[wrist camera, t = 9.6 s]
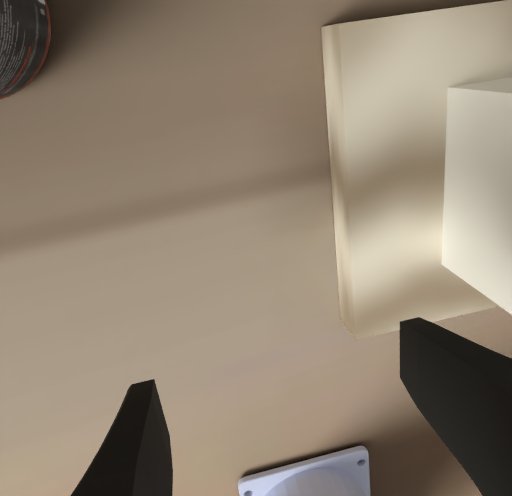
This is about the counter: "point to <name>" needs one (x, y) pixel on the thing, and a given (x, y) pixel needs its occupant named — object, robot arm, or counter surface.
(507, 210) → the housing
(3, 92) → the supplement bottle
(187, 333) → the counter surface
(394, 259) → the stand
